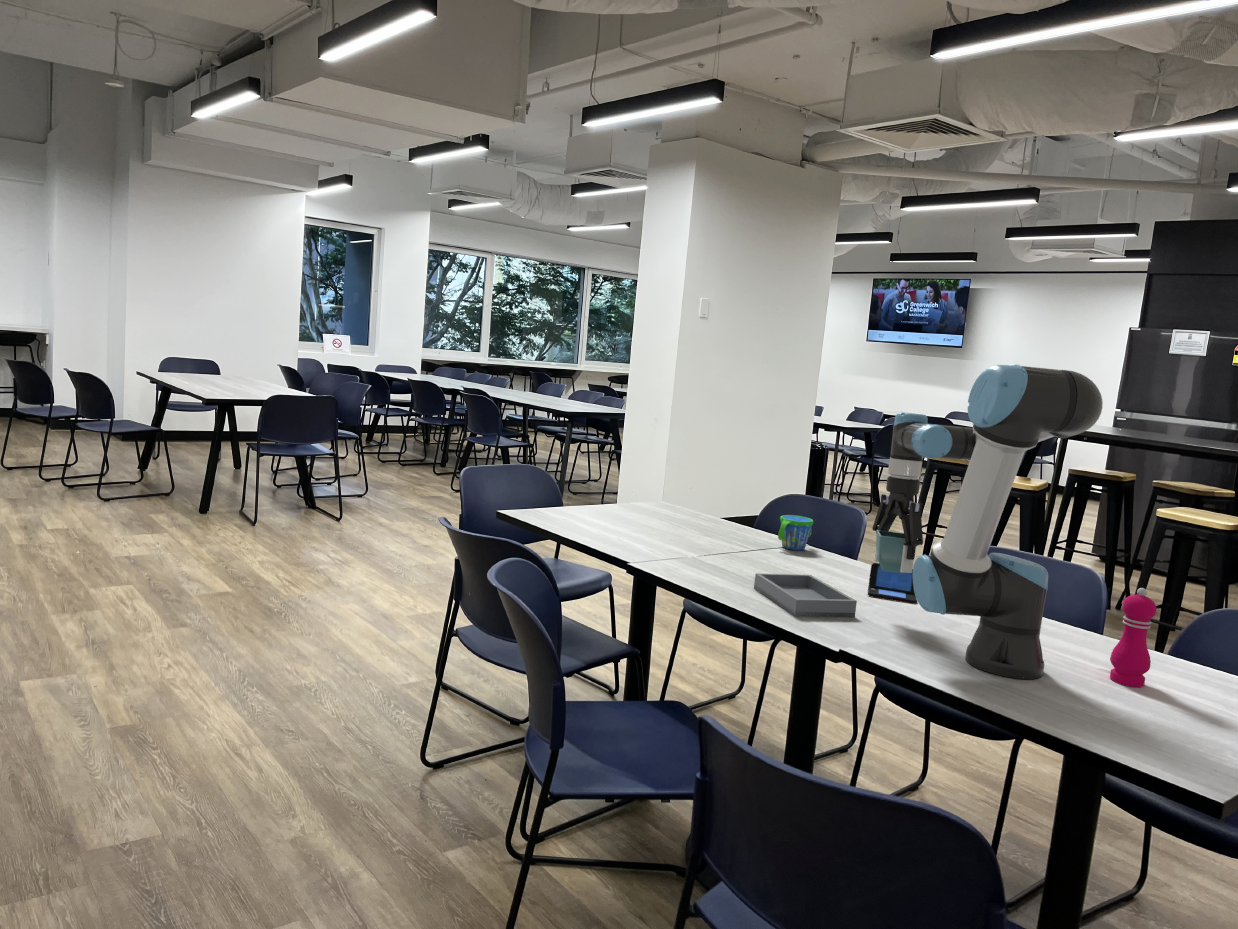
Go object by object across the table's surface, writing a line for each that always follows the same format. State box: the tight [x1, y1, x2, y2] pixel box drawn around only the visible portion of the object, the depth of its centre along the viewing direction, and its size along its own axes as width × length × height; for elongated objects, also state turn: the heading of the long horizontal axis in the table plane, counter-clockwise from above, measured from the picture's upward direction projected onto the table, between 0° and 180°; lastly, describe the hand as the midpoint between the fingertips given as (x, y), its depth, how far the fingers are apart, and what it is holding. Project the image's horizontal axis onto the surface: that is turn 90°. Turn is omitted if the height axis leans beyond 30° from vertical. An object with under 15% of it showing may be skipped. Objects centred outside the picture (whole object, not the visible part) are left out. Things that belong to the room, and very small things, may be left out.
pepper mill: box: [1109, 587, 1157, 688], centre depth 179 cm, size 7×7×20 cm
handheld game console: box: [867, 562, 918, 604], centre depth 234 cm, size 12×11×7 cm
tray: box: [753, 572, 858, 618], centre depth 219 cm, size 24×16×4 cm, turn 15°
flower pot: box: [875, 530, 911, 573], centre depth 211 cm, size 9×9×9 cm
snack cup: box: [777, 514, 814, 551], centre depth 285 cm, size 16×10×10 cm
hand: (892, 566), depth 211 cm, fingers closed on flower pot, 11 cm apart
